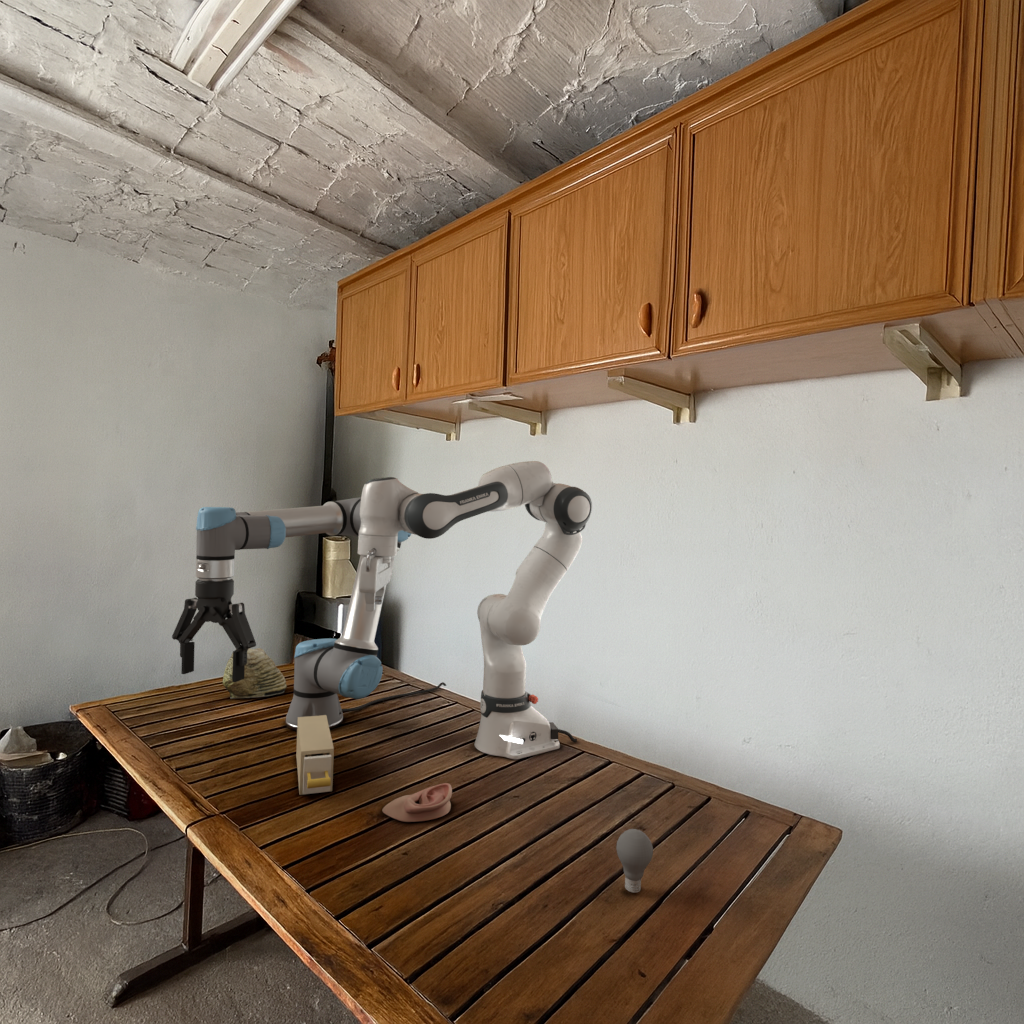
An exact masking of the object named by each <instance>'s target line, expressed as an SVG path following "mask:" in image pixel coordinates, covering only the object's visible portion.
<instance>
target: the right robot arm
mask: <svg viewBox="0 0 1024 1024" xmlns="http://www.w3.org/2000/svg"><path fill="white" fill-rule="evenodd" d="M360 497H361V503H360V518H361V527H360V530H359V537H357V538H358V539H357V555H358V556H360V555H363V559H362V561H361V567H360V577H359V591H360V592H361V593H365V601H366V611H370V612H372V611H374V610H375V604H376V605H380V604H382V605H383V603H384V598H383V595H384V596H385V594H384V591H385V592H386V589H385V585H386V584H387V585H388V584H389V583H391V580H392V575H393V570H394V569H393V568H394V561H395V557H397V556H398V555H397V554H398V552H397V541H398V532H399V531H400V530H403V531H405V532H408V533H411V535H416V536H418V537H420V538H421V539H422V538H423V539H426V540H427V539H428V540H429V539H436V538H439V537H441V536H443V535H444V534H446V533H447V532H448V531H449V530H450V529H451V528H453V526H455V525H456V524H458V523H459V522H461V521H462V522H463V521H464V520H468V519H471V518H473V517H476V516H478V515H481V514H484V513H488V512H503V511H507V510H512V509H515V508H519V507H522V506H524V507H525V510H526V512H527V513H528V514H529V516H530V517H532V518H533V519H535V520H537V521H541V522H543V523H545V524H544V525H545V526H544V530H543V533H542V534H541V537H540V538H539V539H538V540H537V542H536V543H535V544H534V546H532V548H531V549H530V551H529V552H528V553H527V555H526V556H525V558H523V560H522V561H521V563H520V565H519V566H518V567H517V569H516V571H515V578H514V580H513V583H512V584H511V585H512V586H511V588H510V590H509V592H508V593H507V594H505V593H494V594H493V593H492V594H490V595H487V596H485V597H484V598H483V599H482V600H481V601H480V602H479V604H478V607H477V612H476V614H477V619H478V622H479V629H480V638H481V647H482V654H483V676H482V677H483V679H482V680H483V681H482V682H483V683H482V690H481V692H480V701H479V702H480V703H479V709H480V719H479V725H478V730H477V734H476V738H475V741H474V743H473V744H474V748H475V749H476V750H477V751H480V752H481V753H483V754H487V755H490V756H495V757H504V758H507V759H510V760H520V759H525V758H527V757H532V756H536V755H540V754H544V753H547V752H551V751H555V750H558V749H560V747H561V745H560V741H559V734H562V735H565V736H566V737H568V738H569V740H570V741H571V742H573V743H577V742H578V739H577V738H575V737H573V735H572V733H570V732H569V731H566V730H564V729H560V728H558V726H557V725H556V724H555V723H554V722H553V721H552V722H551V721H549V720H548V719H547V718H546V717H545V716H544V715H543V714H542V713H541V712H539V711H538V710H537V709H536V708H535V707H534V706H532V705H531V704H533V705H537V703H538V702H539V697H538V696H537V695H535V694H531V693H530V692H528V691H526V679H527V661H526V658H525V656H524V651H523V646H527V645H529V644H531V643H533V642H534V641H535V640H536V639H537V637H538V636H539V634H540V631H541V619H542V616H543V613H544V611H545V609H546V606H547V603H548V601H549V599H550V597H551V596H552V594H553V592H554V591H555V589H556V588H557V586H558V585H559V583H560V582H561V580H562V579H563V578H564V576H565V575H566V573H568V571H569V569H570V568H571V566H572V564H573V563H574V561H575V559H576V557H577V556H578V554H579V552H580V551H581V547H582V545H583V536H582V533H581V532H582V531H583V530H585V528H586V525H587V523H588V521H589V520H590V517H591V514H592V510H593V501H592V498H591V496H590V495H589V494H588V493H587V492H586V491H585V490H583V489H582V488H579V487H577V486H571V485H569V484H564V483H556V482H553V479H552V474H551V470H550V469H549V468H548V466H547V465H546V464H544V463H543V462H542V461H539V460H534V461H533V460H530V461H529V460H528V461H527V460H526V461H519V462H514V463H509V464H505V465H501V466H498V467H496V468H493V469H491V470H489V471H487V472H485V473H483V474H482V475H481V477H480V478H479V481H478V484H477V486H475V487H472V488H468V489H464V490H462V491H459V492H456V493H452V494H448V495H447V494H446V495H445V494H440V493H434V492H428V493H419V492H418V491H415V490H414V489H412V488H411V487H408V486H406V485H405V484H404V483H402V482H401V481H400V480H399V479H398V478H396V477H393V476H387V477H375V478H371V479H369V480H367V481H366V482H365V483H364V485H363V487H362V490H361V496H360ZM387 585H386V586H387Z"/></svg>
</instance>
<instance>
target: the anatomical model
mask: <svg viewBox="0 0 1024 1024" xmlns="http://www.w3.org/2000/svg"><path fill="white" fill-rule="evenodd" d="M452 795H453V788H452V785H451V784H450V783H447V782H445V783H444V782H443V783H440V784H436V785H433V786H429V787H426V788H424V789H422V790H419V791H417V792H415V793H411V794H405V795H402V796H399V797H397V798H395V799H393V800H391V801H390V802H388V803H387V804H386V805H384V806H383V808H382V813H383V814H384V815H386V816H387V817H389V818H392V819H394V820H396V821H400V822H402V823H415V822H425V821H430V820H431V821H432V820H436V819H438V818H442V817H444V816H445V815H447V814H448V813H449V812H450V811H451V808H452V803H451V799H452Z"/></svg>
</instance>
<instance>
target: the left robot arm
mask: <svg viewBox="0 0 1024 1024" xmlns="http://www.w3.org/2000/svg"><path fill="white" fill-rule="evenodd" d="M360 503H361V496H360V497H353V498H347V499H340V500H331V501H327V502H325V503H324V504H323V505H315V506H313V505H312V506H302V507H301V506H300V507H287V508H275V509H263V510H251V511H237V512H236V509H235V508H234V507H229V506H203V507H201V508H199V509H198V512H197V518H196V526H195V530H196V545H195V546H196V547H195V549H196V550H195V551H196V552H195V553H196V554H195V555H196V556H195V557H196V559H195V577H196V578H197V580H196V581H195V585H194V586H195V588H194V596H195V597H190V598H186V599H185V600H184V605H183V610H182V612H181V614H180V617H179V620H178V622H177V624H176V626H175V628H174V631H173V633H172V636H171V638H172V640H173V641H174V640H176V641H178V643H179V657H180V658H181V668H180V669H181V675H186V674H190V673H193V672H195V645H196V644H195V641H193V640H194V638H195V636H196V635H197V633H198V632H199V631H200V630H201V628H202V627H203V626H204V624H205V623H210V622H211V623H213V624H218V625H219V626H220V627H222V629H223V630H224V632H225V633H226V635H227V636H228V638H229V639H230V641H231V643H232V644H233V646H234V648H235V650H233V651H232V653H233V674H232V682H237V681H240V680H243V679H244V671H245V665H246V664H247V651H248V649H249V648H250V649H253V648H255V647H256V646H257V642H256V639H255V636H254V633H253V630H252V628H251V626H250V623H249V621H248V617H247V614H246V609H245V603H244V602H238V603H233V601H232V597H233V596H234V594H235V593H234V592H235V580H234V579H233V578H234V577H235V555H236V551H241V550H262V549H263V550H264V549H266V550H269V549H276V548H279V547H280V546H281V545H283V544H284V542H285V540H286V538H292V537H301V536H310V535H318V534H326V535H327V536H333V537H334V536H349V537H356V538H358V537H359V530H360V527H361V518H360ZM411 536H412V534H411V533H408V532H405V531H403V530H400V531H399V532H398V541H397V553H398V552H400V550H401V547H402V543H403V542H405V541H407V540H408V539H409V538H410V537H411ZM362 559H363V555H359V560H358V565H357V569H356V573H355V577H354V578H355V579H354V582H353V585H352V586H353V587H352V590H351V596H350V599H349V604H348V608H347V611H346V612H347V613H346V616H345V621H344V625H343V631H342V634H341V636H339V638H331V637H329V638H317V639H316V638H315V639H308V640H304V641H300V642H299V643H298V644H297V645H296V646H295V650H294V651H295V652H294V655H293V658H294V670H293V671H294V672H293V695H292V696H293V697H292V699H291V702H290V704H289V708H288V711H287V713H286V715H285V726H286V728H287V729H289V730H291V731H294V732H295V731H296V732H297V724H298V717H308V716H321V715H326V716H327V720H328V725H329V729H330V730H332V729H335V728H337V727H339V726H340V725H342V723H343V722H344V714H343V712H345V713H346V712H356V711H359V710H362V709H364V708H366V707H368V706H370V705H374V704H376V703H380V702H383V701H387V700H391V699H397V698H401V697H402V698H403V697H408V696H414V695H415V696H416V695H419V694H426V693H429V692H434V691H437V690H438V689H439V688H440V687H442V686H444V687H446V686H447V684H446V683H445V682H440V683H439V684H438V685H437V686H435V687H432V688H428V689H423V690H417V691H413V692H407V693H400V694H399V693H398V694H395V695H389V696H384V697H381V698H377V699H374V700H371V701H368V702H366V703H364V704H362V705H360V706H357V707H351V708H350V707H349V708H342V706H341V702H340V699H339V695H340V696H341V697H344V698H346V699H347V698H349V699H354V700H359V699H365V698H367V697H368V696H369V695H371V693H372V692H374V691H375V690H376V688H377V687H378V686H379V685H380V682H381V680H382V677H383V673H384V672H383V669H384V668H383V667H384V666H383V664H382V661H381V660H380V659H379V657H378V652H379V647H378V645H377V644H376V643H375V638H376V635H377V630H378V625H379V621H380V617H381V612H382V607H383V603H382V604H380V605H376V604H375V610H374V611H372V612H370V611H366V601H365V593H361V592H360V591H359V577H360V567H361V561H362ZM387 585H388V584H386V585H385V591H384V595H383V599H385V595H386V594H385V593H386V589H387ZM196 612H197V613H196Z"/></svg>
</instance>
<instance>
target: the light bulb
mask: <svg viewBox="0 0 1024 1024" xmlns="http://www.w3.org/2000/svg"><path fill="white" fill-rule="evenodd" d="M615 849H616V854H617V857H618V859H619V861H620V863H621V865H622V867H623V873H624V874H623V875H624V876H625V878H624V888H625V890H627V891H628V892H630V893H634V894H635V893H639V892H640V891H641V889H642V887H641V886H642V879H643V877H644V875H645V871H646V868H647V867H648V866H649V864H650V863H651V861H652V859H653V855H654V847H653V843H652V841H651V838H649V836H648V835H647V834H646V833H645V832H643V831H642V830H641V829H636V828H629V829H627V830H625V831H623V832H622V833H621V834H620V835H619V837H618V839H617V841H616V847H615Z"/></svg>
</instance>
